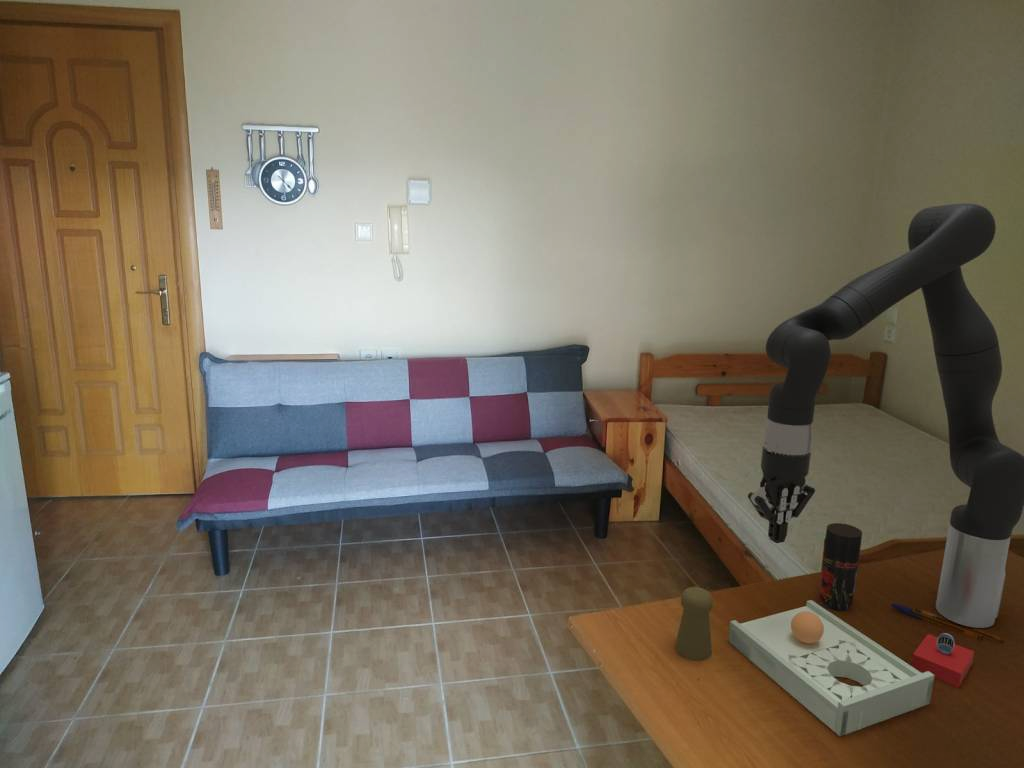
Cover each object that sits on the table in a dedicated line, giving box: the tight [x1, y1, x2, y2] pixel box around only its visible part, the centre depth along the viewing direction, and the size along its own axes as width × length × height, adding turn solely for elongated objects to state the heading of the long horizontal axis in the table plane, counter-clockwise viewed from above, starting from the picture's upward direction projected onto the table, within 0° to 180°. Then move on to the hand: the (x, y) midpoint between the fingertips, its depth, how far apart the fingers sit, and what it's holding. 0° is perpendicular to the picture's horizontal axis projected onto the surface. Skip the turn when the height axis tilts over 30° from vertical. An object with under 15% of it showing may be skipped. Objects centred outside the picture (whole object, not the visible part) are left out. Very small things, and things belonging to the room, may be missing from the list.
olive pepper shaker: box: [674, 586, 714, 662], centre depth 116 cm, size 6×6×11 cm
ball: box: [791, 611, 824, 643], centre depth 114 cm, size 5×5×5 cm
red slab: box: [910, 632, 975, 689], centre depth 113 cm, size 8×7×6 cm
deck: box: [728, 599, 935, 737], centre depth 112 cm, size 18×24×5 cm
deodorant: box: [817, 522, 863, 612], centre depth 130 cm, size 6×6×15 cm
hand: (776, 540), depth 119 cm, fingers closed
